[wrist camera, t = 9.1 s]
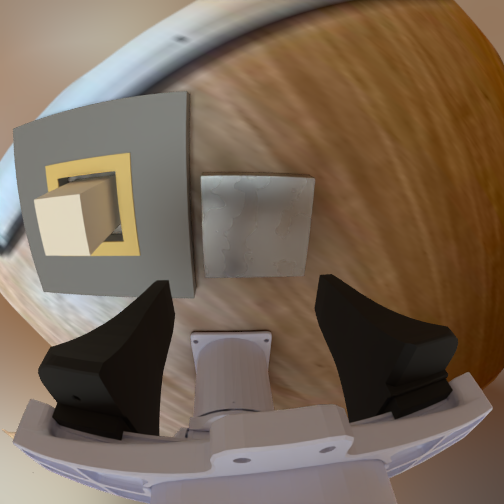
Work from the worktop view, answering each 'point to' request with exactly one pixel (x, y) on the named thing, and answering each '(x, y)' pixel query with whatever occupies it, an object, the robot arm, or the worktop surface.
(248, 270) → the tab
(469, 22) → the worktop surface
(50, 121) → the hole board
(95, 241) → the peg
